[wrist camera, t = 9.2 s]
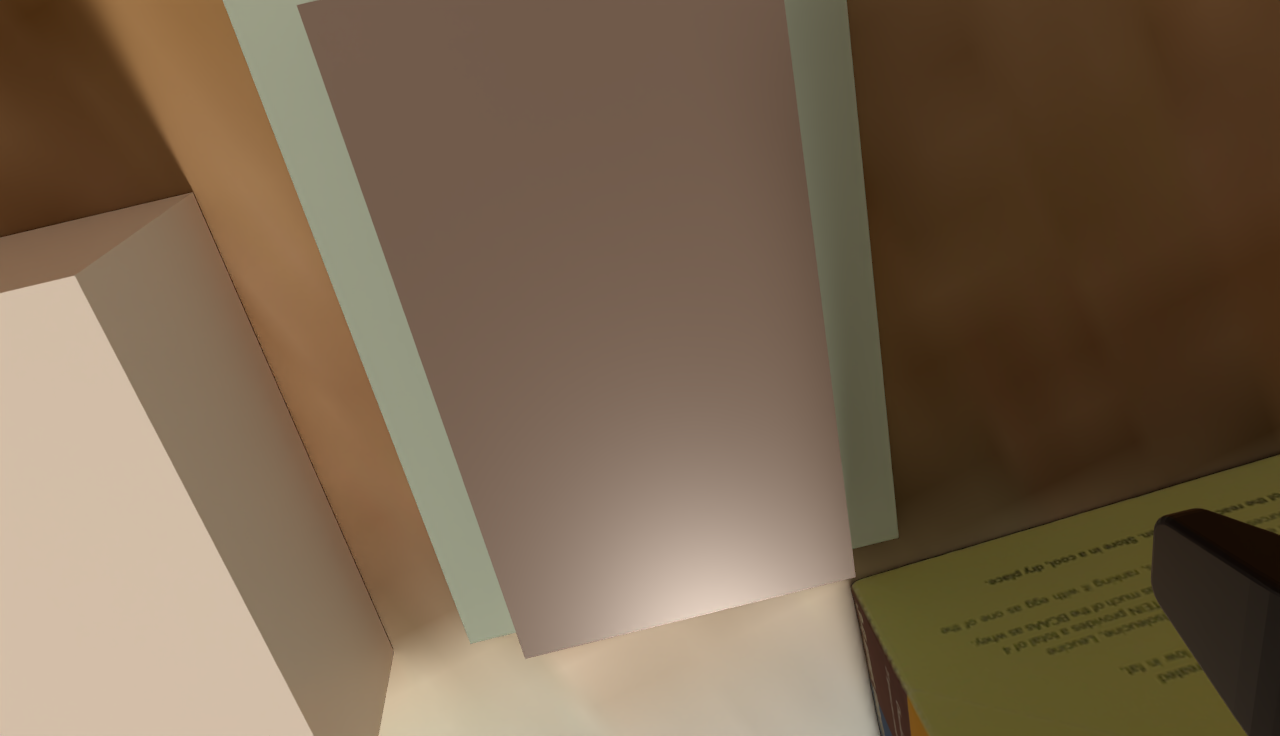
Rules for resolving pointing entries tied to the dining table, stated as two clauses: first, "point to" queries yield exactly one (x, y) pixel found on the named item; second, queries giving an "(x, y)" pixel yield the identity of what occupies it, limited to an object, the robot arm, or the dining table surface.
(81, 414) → the box
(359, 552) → the dining table surface
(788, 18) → the mat
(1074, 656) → the protein box
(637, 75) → the lid
